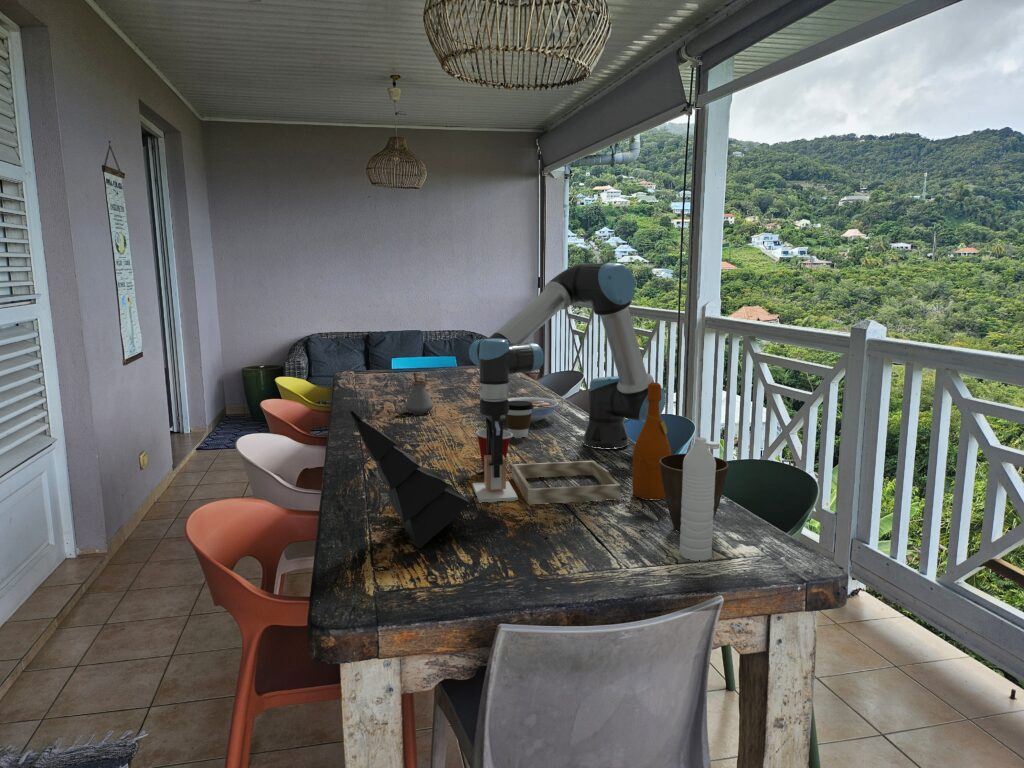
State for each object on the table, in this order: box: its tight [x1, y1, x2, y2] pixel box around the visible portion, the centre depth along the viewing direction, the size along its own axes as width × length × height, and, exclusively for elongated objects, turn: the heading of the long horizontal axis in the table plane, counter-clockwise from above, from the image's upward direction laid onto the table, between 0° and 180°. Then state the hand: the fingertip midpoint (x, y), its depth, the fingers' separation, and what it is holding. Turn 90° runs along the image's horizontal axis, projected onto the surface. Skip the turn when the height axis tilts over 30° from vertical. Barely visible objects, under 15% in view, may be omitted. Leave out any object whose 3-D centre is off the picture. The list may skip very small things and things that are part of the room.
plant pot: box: [660, 453, 729, 533], centre depth 160 cm, size 15×15×16 cm
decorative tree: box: [349, 410, 471, 549], centre depth 153 cm, size 15×15×35 cm
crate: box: [511, 460, 622, 506], centre depth 191 cm, size 24×24×4 cm
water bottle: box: [678, 436, 720, 562], centre depth 143 cm, size 9×6×25 cm
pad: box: [472, 480, 519, 504], centre depth 187 cm, size 10×14×1 cm
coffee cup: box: [504, 401, 534, 439], centre depth 250 cm, size 11×11×12 cm
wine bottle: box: [631, 382, 672, 500], centre depth 183 cm, size 10×10×30 cm
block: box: [483, 455, 507, 490], centre depth 186 cm, size 5×5×8 cm
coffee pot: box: [405, 371, 434, 415], centre depth 296 cm, size 21×12×15 cm, turn 14°
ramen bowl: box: [507, 396, 559, 423], centre depth 277 cm, size 25×23×8 cm
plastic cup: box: [475, 428, 513, 471], centre depth 206 cm, size 11×11×12 cm
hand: (494, 485), depth 187 cm, fingers closed on block, 5 cm apart
